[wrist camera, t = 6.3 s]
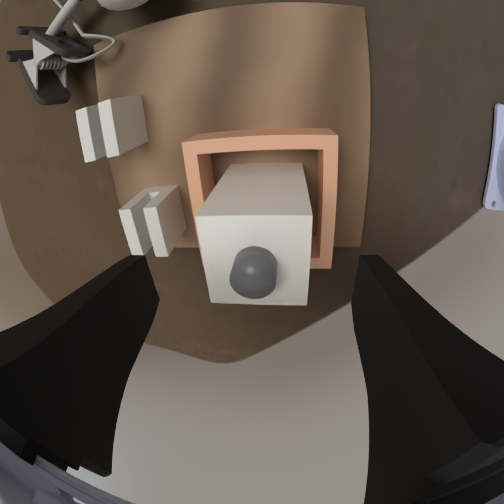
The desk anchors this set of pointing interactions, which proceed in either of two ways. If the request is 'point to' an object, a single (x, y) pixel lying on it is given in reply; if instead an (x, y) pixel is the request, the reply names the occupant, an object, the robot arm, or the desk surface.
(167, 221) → the clips
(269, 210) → the connector plug
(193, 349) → the desk surface
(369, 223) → the desk surface
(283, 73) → the board
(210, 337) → the desk surface
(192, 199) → the frame
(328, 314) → the desk surface
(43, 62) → the clip-on lamp
